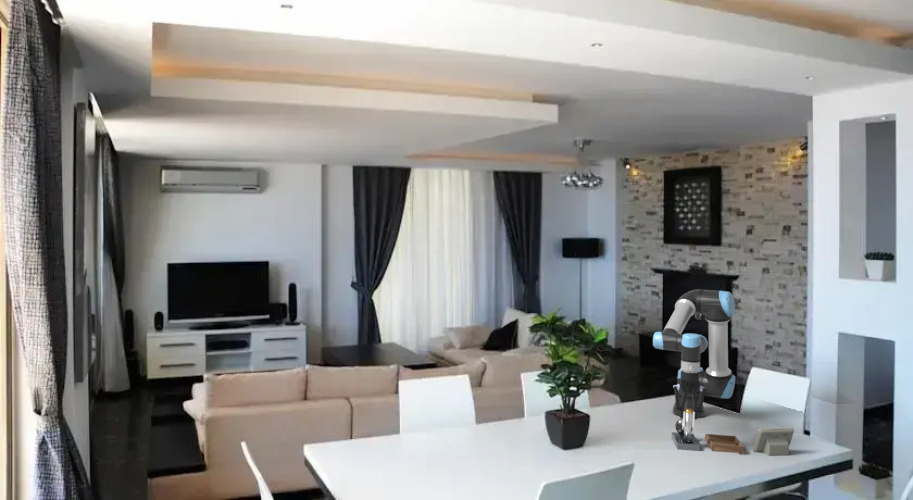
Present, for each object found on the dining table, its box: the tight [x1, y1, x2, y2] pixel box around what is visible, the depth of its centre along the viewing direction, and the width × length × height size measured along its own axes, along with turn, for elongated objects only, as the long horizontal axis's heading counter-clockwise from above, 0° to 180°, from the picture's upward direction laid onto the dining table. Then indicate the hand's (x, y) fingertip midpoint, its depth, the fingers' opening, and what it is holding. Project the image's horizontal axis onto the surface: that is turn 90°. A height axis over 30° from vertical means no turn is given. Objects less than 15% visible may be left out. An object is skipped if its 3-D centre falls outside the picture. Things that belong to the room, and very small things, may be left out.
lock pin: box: [684, 409, 693, 442], centre depth 299 cm, size 3×3×13 cm
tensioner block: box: [671, 418, 701, 452], centre depth 303 cm, size 16×9×10 cm, turn 171°
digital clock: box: [752, 427, 795, 457], centre depth 297 cm, size 16×9×11 cm, turn 88°
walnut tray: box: [704, 433, 745, 455], centre depth 302 cm, size 16×13×3 cm
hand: (688, 426), depth 299 cm, fingers closed on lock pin, 3 cm apart
